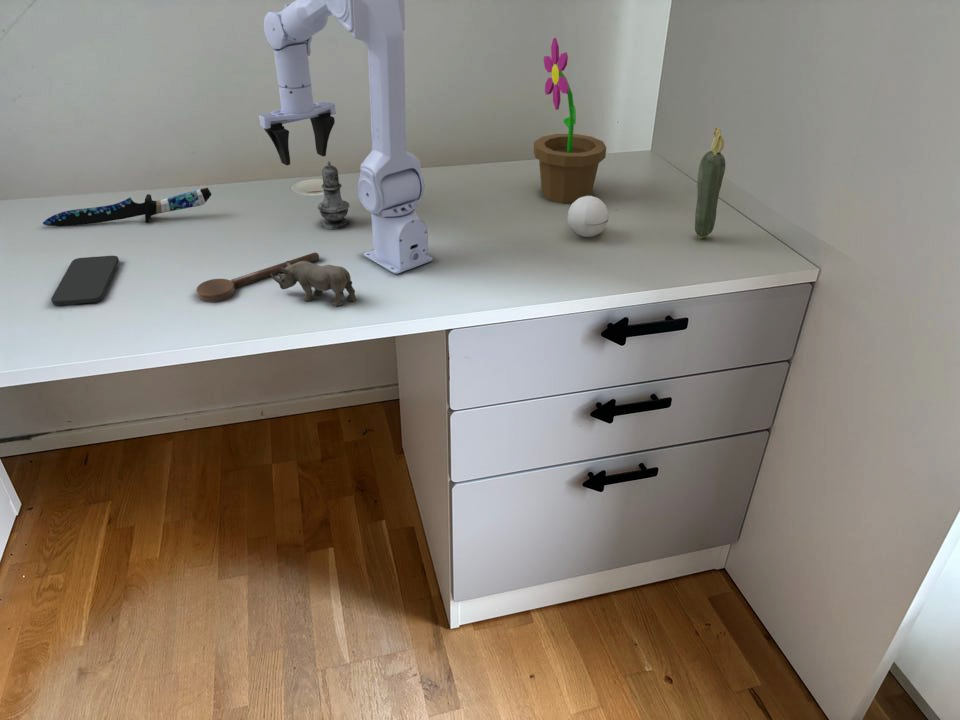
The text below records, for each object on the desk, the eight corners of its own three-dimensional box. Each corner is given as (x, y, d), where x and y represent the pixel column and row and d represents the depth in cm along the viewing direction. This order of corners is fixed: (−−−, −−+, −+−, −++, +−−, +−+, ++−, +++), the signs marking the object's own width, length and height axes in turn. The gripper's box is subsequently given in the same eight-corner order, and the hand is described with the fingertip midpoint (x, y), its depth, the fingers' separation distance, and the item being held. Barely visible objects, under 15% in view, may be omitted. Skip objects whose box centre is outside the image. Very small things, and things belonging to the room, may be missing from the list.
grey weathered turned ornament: (334, 232, 140) (328, 169, 134) (312, 224, 143) (305, 162, 137) (357, 222, 144) (352, 160, 138) (335, 214, 147) (329, 153, 141)
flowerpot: (521, 185, 161) (527, 32, 144) (584, 178, 165) (597, 28, 148) (546, 210, 150) (556, 48, 133) (613, 203, 153) (630, 43, 137)
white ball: (574, 246, 136) (577, 207, 132) (560, 229, 142) (563, 191, 138) (626, 240, 138) (631, 201, 134) (610, 224, 144) (614, 186, 140)
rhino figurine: (280, 285, 123) (275, 251, 120) (359, 296, 120) (356, 262, 117) (268, 297, 120) (262, 262, 117) (349, 309, 117) (345, 273, 114)
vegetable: (712, 245, 137) (733, 134, 126) (687, 243, 138) (706, 132, 126) (710, 235, 140) (731, 126, 129) (686, 233, 141) (705, 124, 130)
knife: (216, 207, 147) (209, 184, 144) (214, 213, 144) (206, 190, 142) (53, 231, 145) (43, 209, 142) (48, 237, 142) (38, 215, 140)
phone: (48, 302, 116) (73, 258, 129) (50, 306, 117) (74, 262, 129) (100, 298, 118) (119, 254, 130) (101, 302, 118) (120, 259, 130)
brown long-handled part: (310, 253, 133) (309, 246, 132) (327, 264, 129) (327, 257, 129) (191, 292, 121) (190, 284, 120) (207, 305, 118) (205, 297, 117)
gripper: (318, 73, 143) (325, 146, 150) (246, 86, 135) (258, 162, 142) (338, 81, 138) (345, 155, 146) (266, 94, 130) (277, 172, 138)
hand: (303, 159), depth 144 cm, fingers open, 7 cm apart
